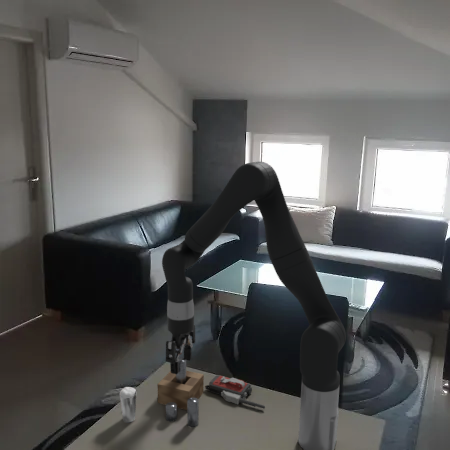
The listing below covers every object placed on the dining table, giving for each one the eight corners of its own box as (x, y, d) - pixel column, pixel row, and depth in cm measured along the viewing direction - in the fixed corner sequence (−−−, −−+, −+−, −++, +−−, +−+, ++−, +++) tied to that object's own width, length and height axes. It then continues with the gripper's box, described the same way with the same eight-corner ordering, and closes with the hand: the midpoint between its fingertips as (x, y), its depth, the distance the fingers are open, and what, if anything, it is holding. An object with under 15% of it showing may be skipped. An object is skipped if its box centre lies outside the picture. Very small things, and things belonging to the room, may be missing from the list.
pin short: (178, 416, 135) (178, 403, 134) (173, 422, 132) (173, 409, 131) (169, 414, 136) (168, 401, 135) (163, 420, 133) (163, 407, 132)
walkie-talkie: (201, 395, 146) (263, 413, 137) (201, 381, 145) (263, 399, 136) (214, 381, 154) (274, 398, 145) (215, 368, 153) (275, 384, 144)
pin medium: (200, 422, 132) (200, 399, 131) (195, 428, 130) (195, 404, 128) (190, 419, 133) (190, 396, 132) (185, 425, 131) (185, 402, 129)
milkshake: (131, 427, 129) (130, 393, 127) (116, 420, 132) (115, 387, 130) (143, 418, 133) (142, 385, 131) (128, 412, 136) (127, 380, 134)
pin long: (187, 396, 144) (187, 359, 142) (183, 401, 142) (183, 363, 139) (178, 393, 146) (178, 357, 143) (174, 399, 143) (173, 361, 140)
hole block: (203, 392, 146) (203, 374, 145) (189, 410, 137) (189, 391, 136) (173, 385, 150) (173, 367, 149) (157, 402, 141) (157, 384, 139)
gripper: (181, 325, 130) (182, 380, 133) (203, 306, 143) (203, 357, 146) (156, 321, 133) (157, 375, 136) (180, 303, 146) (180, 353, 149)
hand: (181, 366), depth 141 cm, fingers open, 8 cm apart
